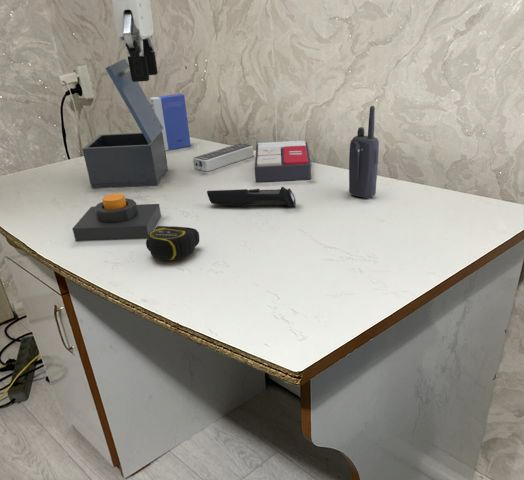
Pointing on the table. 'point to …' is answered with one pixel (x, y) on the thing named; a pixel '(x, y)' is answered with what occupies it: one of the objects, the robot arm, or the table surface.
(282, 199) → the electric trimmer
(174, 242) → the tape measure
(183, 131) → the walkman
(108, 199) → the button
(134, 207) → the control block
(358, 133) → the two-way radio
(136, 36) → the robot arm
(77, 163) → the table surface
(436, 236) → the table surface
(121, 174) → the compartment
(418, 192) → the table surface
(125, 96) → the compartment lid
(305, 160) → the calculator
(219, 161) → the multiport hub
